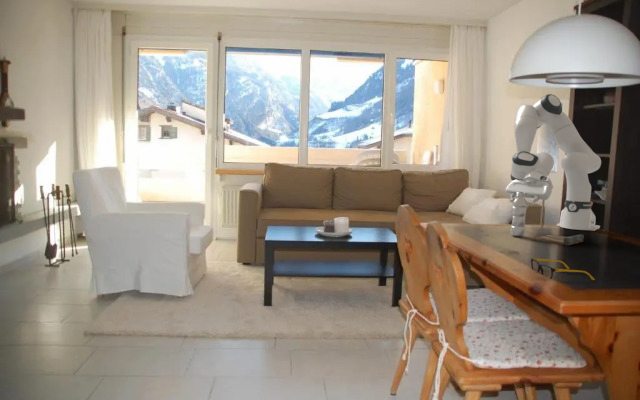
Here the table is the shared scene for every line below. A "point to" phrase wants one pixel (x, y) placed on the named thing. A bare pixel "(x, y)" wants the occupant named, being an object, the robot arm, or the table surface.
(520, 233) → the plastic bottle
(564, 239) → the walnut board
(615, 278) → the table surface
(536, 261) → the eyeglasses
